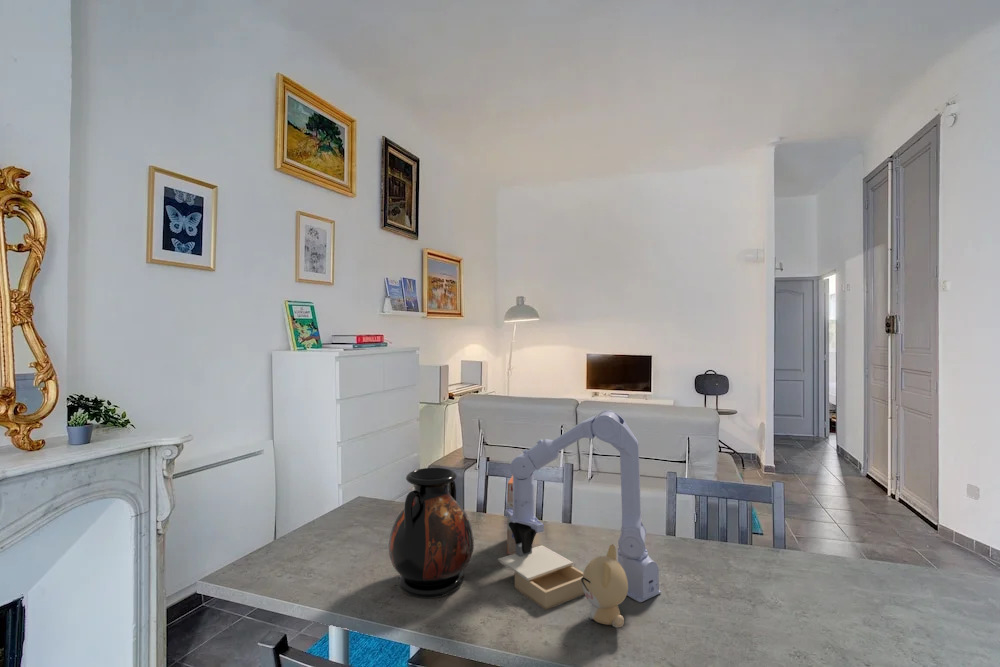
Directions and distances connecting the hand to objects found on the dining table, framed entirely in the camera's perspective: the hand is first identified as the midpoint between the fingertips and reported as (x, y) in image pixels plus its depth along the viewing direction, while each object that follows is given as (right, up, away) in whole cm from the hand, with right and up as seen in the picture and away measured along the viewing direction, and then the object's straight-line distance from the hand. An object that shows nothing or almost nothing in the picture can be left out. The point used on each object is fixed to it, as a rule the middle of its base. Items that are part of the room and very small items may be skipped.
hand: (523, 550), depth 129 cm
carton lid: (+3, -1, -4) cm, 5 cm away
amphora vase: (-24, -6, -6) cm, 25 cm away
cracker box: (0, -6, +16) cm, 17 cm away
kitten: (+17, -6, -22) cm, 28 cm away
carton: (+6, -6, -10) cm, 13 cm away
